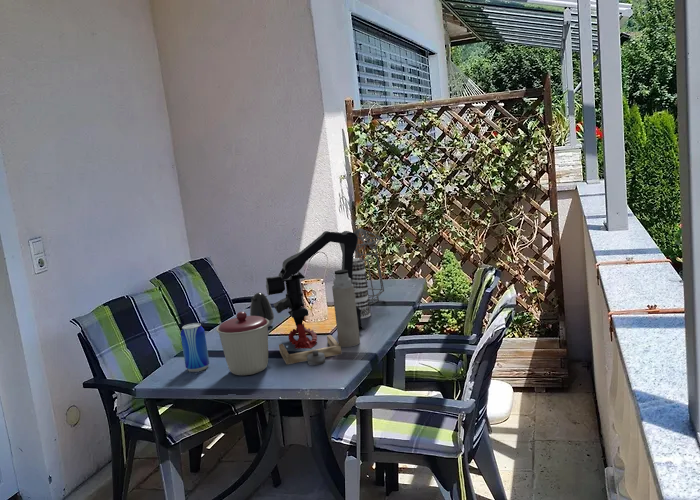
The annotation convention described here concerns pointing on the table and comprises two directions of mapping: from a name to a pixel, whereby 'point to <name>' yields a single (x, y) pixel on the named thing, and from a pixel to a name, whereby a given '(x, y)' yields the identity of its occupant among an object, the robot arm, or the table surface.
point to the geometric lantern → (370, 258)
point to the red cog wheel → (302, 337)
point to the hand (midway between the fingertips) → (298, 329)
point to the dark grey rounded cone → (261, 307)
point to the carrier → (312, 353)
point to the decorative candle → (360, 287)
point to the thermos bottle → (345, 309)
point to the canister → (245, 343)
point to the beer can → (194, 347)
